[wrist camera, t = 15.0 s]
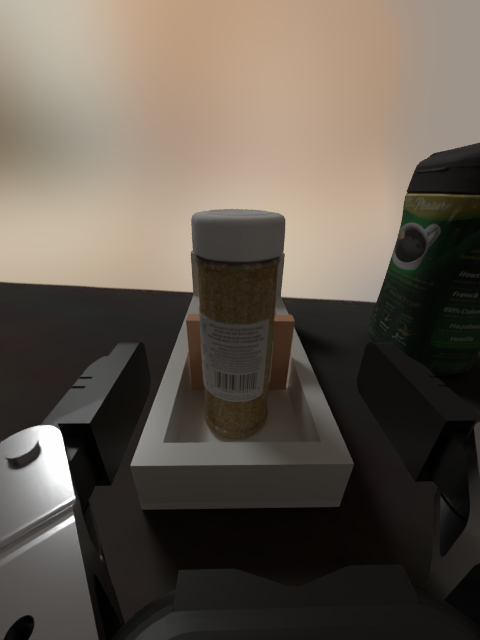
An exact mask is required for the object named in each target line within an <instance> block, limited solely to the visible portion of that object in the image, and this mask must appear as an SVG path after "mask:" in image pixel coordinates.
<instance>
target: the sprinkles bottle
mask: <svg viewBox="0 0 480 640" xmlns="http://www.w3.org/2000/svg"><path fill="white" fill-rule="evenodd" d="M191 223H192V243H193V251H194V253H195V254H196V256H195V260H196V262H197V266H198V283H199V302H200V306H199V319H200V335H201V354H202V369H203V382H204V386H205V409H204V415H205V420H206V422H207V424H208V425H209V426H210V428H211V429H212V430H213V431H215V432H216V433H217V434H219V435H221V436H224V437H228V438H245V437H248V436H251V435H253V434H255V433H257V432H258V431H259V430H260V429H261V428H262V427H263V426H264V425H265V423H266V420H267V416H268V410H267V396H268V385H269V382H270V378H271V366H272V354H273V330H274V317H275V302H276V288H277V272H278V264H279V263H280V260H281V259H280V257H279V256H280V255H282V253H283V250H284V238H285V218H284V216H283V215H281V214H279V213H273V212H268V211H260V210H239V209H236V210H235V209H227V210H226V209H225V210H210V211H203V212H198V213H195V214H194V215H193V216H192V222H191Z"/></svg>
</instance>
